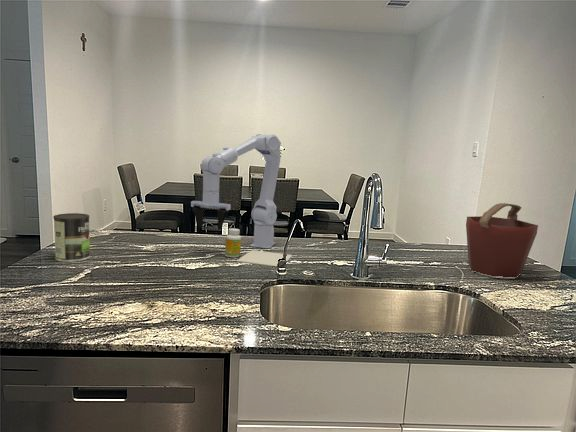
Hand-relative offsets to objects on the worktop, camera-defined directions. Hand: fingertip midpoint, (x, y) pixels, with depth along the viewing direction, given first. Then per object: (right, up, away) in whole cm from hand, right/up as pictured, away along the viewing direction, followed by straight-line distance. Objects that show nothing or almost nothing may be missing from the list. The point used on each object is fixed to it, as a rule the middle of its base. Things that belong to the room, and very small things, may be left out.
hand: (210, 228), depth 150 cm
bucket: (+102, -16, -2) cm, 104 cm away
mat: (+20, -11, -1) cm, 23 cm away
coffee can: (-43, -10, -14) cm, 46 cm away
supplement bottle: (+8, -10, 0) cm, 13 cm away
